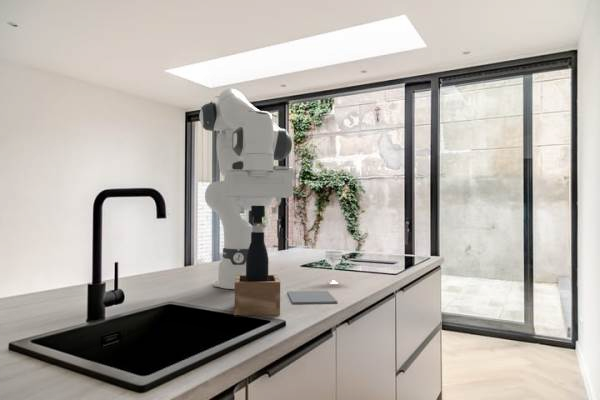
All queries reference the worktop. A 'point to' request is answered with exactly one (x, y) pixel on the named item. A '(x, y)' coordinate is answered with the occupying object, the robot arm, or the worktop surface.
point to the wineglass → (333, 261)
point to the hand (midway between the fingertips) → (258, 213)
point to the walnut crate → (257, 296)
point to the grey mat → (311, 297)
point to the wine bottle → (257, 249)
